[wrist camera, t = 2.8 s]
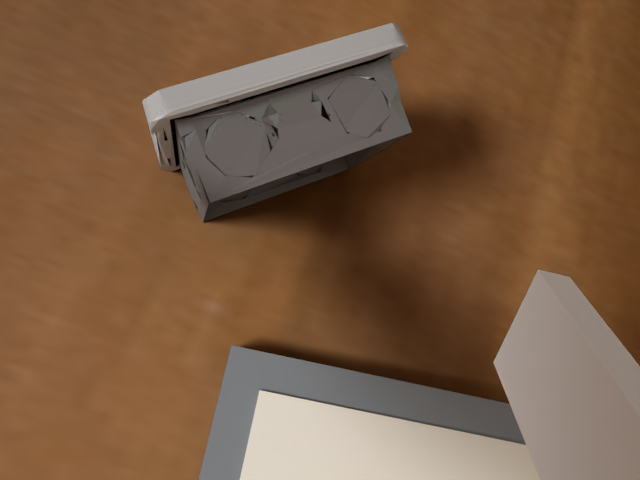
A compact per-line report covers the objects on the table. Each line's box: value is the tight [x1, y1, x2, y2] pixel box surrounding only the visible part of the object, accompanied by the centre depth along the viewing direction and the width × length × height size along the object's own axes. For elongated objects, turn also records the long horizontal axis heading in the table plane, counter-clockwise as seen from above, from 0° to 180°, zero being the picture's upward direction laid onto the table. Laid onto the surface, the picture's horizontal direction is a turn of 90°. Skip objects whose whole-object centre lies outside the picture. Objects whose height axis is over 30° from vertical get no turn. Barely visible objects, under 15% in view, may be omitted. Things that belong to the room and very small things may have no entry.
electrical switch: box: [142, 23, 412, 222], centre depth 21 cm, size 9×5×9 cm, turn 114°
